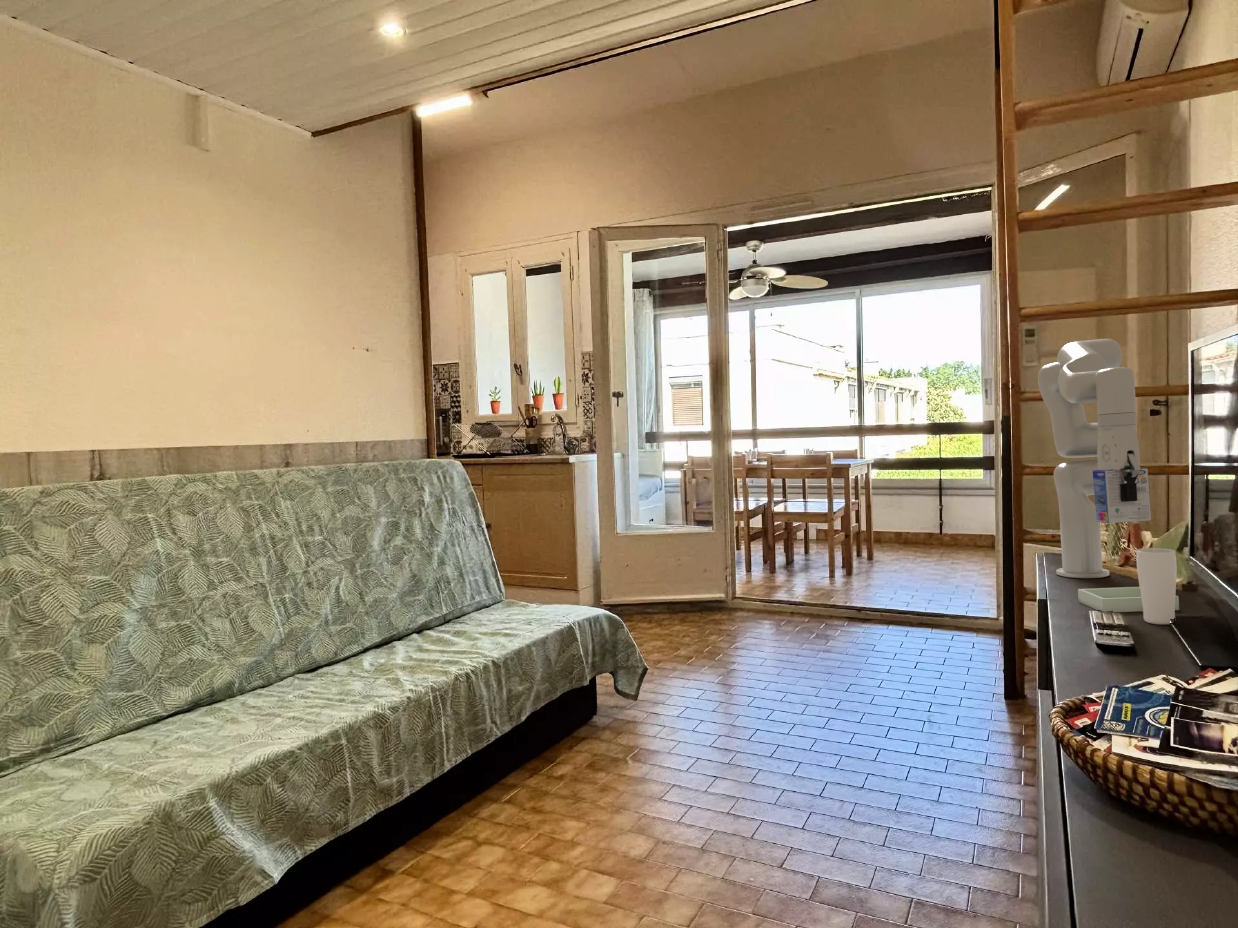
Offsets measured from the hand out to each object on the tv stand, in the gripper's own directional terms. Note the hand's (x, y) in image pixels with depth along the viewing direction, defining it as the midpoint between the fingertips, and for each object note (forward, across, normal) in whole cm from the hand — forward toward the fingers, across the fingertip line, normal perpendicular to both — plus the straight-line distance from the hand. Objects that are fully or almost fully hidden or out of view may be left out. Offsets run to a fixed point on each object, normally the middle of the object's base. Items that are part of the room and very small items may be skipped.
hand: (1121, 499), depth 176 cm
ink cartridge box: (+5, 0, 0) cm, 5 cm away
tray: (+24, +2, -1) cm, 24 cm away
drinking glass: (+25, +18, -2) cm, 30 cm away
